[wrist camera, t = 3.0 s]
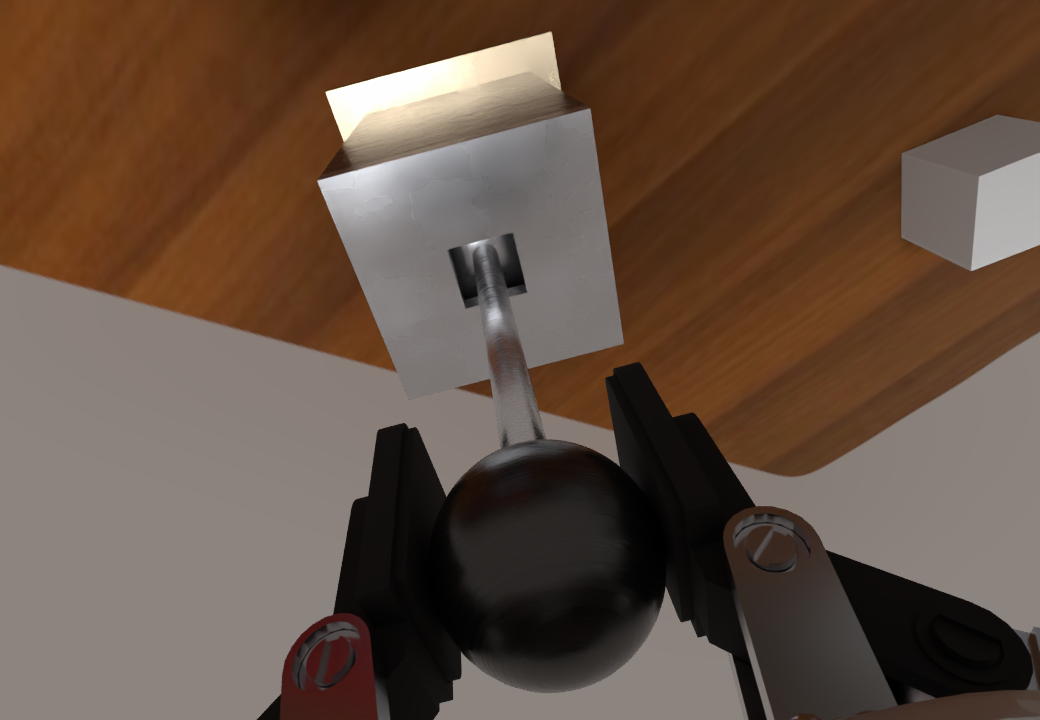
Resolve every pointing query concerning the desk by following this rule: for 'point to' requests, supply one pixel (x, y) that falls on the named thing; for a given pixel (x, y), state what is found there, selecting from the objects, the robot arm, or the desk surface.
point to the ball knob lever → (539, 528)
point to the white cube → (974, 192)
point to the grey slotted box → (473, 208)
